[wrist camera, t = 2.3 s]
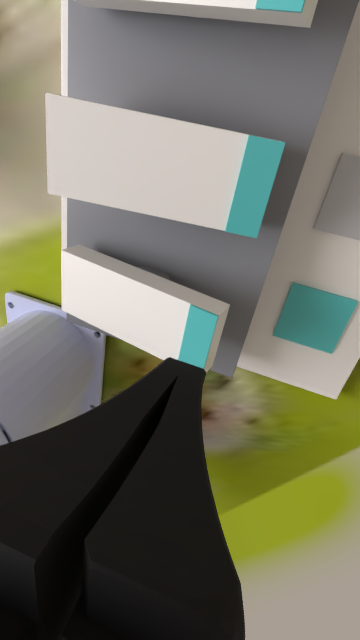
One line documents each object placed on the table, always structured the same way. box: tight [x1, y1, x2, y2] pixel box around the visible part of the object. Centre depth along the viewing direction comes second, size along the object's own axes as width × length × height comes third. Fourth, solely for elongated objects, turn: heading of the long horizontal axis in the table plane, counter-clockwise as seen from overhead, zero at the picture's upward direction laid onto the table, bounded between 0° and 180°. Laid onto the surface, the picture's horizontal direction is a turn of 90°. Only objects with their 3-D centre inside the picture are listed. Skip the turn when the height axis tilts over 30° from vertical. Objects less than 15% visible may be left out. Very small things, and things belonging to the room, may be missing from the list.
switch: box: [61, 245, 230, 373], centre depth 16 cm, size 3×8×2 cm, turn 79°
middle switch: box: [45, 93, 286, 238], centre depth 13 cm, size 3×8×2 cm, turn 79°
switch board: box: [61, 0, 360, 400], centre depth 15 cm, size 21×18×4 cm
